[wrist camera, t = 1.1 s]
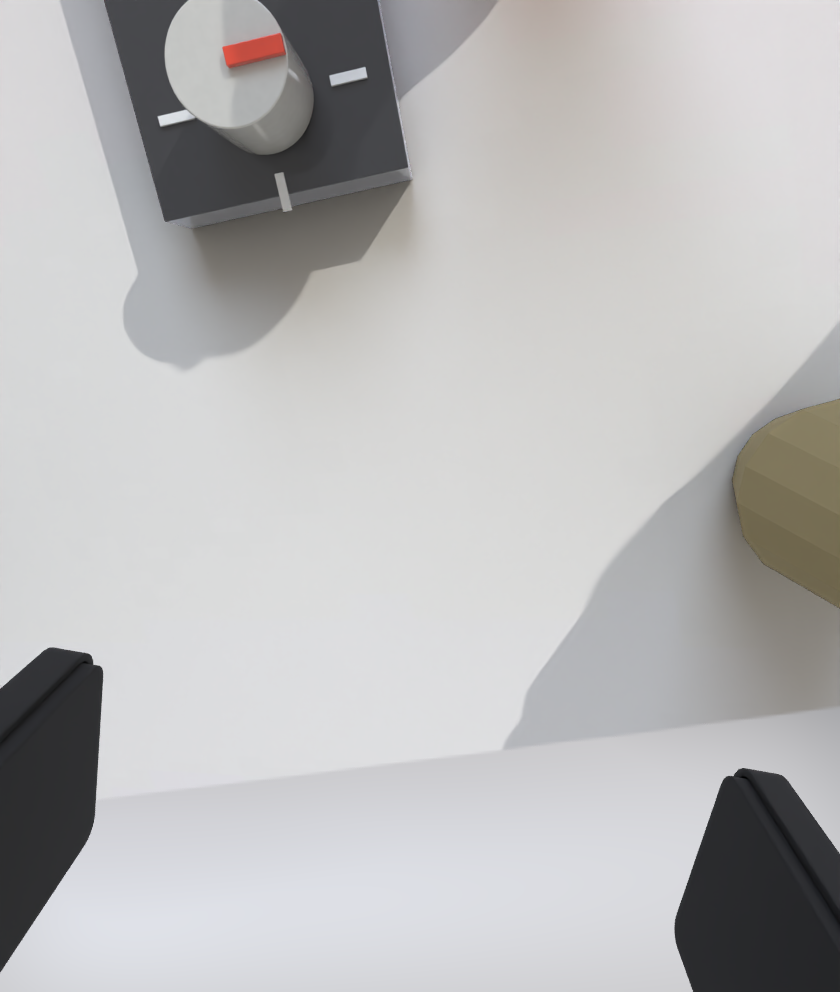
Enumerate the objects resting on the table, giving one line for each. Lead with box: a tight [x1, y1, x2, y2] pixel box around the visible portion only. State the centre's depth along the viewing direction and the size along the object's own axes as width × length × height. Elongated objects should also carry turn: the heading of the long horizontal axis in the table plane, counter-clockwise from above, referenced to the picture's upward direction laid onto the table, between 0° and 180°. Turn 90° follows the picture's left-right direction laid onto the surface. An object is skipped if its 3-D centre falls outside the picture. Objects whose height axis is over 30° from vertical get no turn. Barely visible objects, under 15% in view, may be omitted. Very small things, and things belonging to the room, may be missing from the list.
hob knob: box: [165, 0, 314, 155], centre depth 25 cm, size 4×4×5 cm
